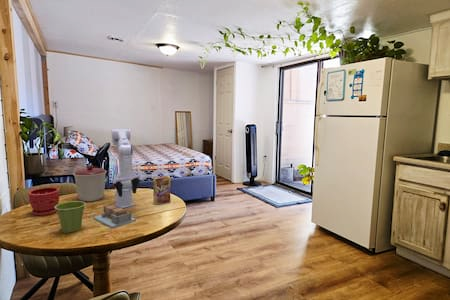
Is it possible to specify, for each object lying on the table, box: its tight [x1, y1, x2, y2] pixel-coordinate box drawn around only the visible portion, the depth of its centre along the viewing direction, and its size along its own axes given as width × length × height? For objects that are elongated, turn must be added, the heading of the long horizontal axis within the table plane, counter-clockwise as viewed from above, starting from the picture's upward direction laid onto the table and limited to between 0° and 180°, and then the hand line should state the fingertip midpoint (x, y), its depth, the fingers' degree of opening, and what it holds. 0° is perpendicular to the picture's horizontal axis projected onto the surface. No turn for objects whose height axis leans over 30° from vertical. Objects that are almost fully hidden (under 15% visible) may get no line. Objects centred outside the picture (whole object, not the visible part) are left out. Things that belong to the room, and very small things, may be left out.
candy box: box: [152, 175, 171, 206], centre depth 158 cm, size 9×4×15 cm, turn 123°
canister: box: [72, 164, 108, 203], centre depth 164 cm, size 18×18×21 cm
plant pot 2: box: [54, 200, 87, 234], centre depth 120 cm, size 12×12×11 cm
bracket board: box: [92, 211, 137, 229], centre depth 132 cm, size 18×12×4 cm, turn 50°
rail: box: [103, 203, 128, 219], centre depth 132 cm, size 14×4×5 cm, turn 50°
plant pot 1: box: [28, 186, 60, 216], centre depth 141 cm, size 13×13×12 cm
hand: (127, 194), depth 140 cm, fingers open, 7 cm apart
